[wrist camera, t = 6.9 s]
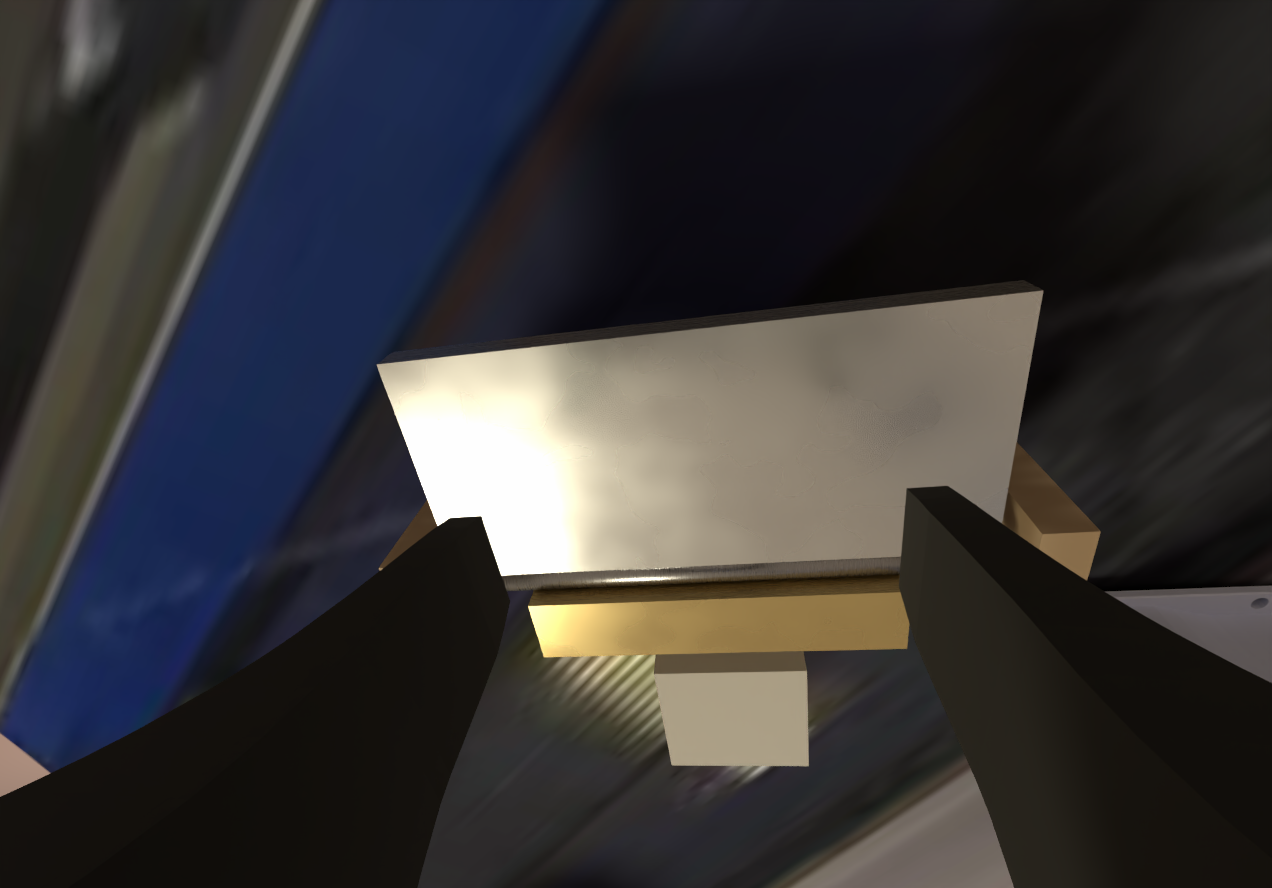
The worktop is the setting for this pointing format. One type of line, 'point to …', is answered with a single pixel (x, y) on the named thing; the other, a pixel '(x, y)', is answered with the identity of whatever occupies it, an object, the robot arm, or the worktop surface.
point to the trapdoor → (721, 463)
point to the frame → (1028, 513)
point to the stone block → (734, 708)
